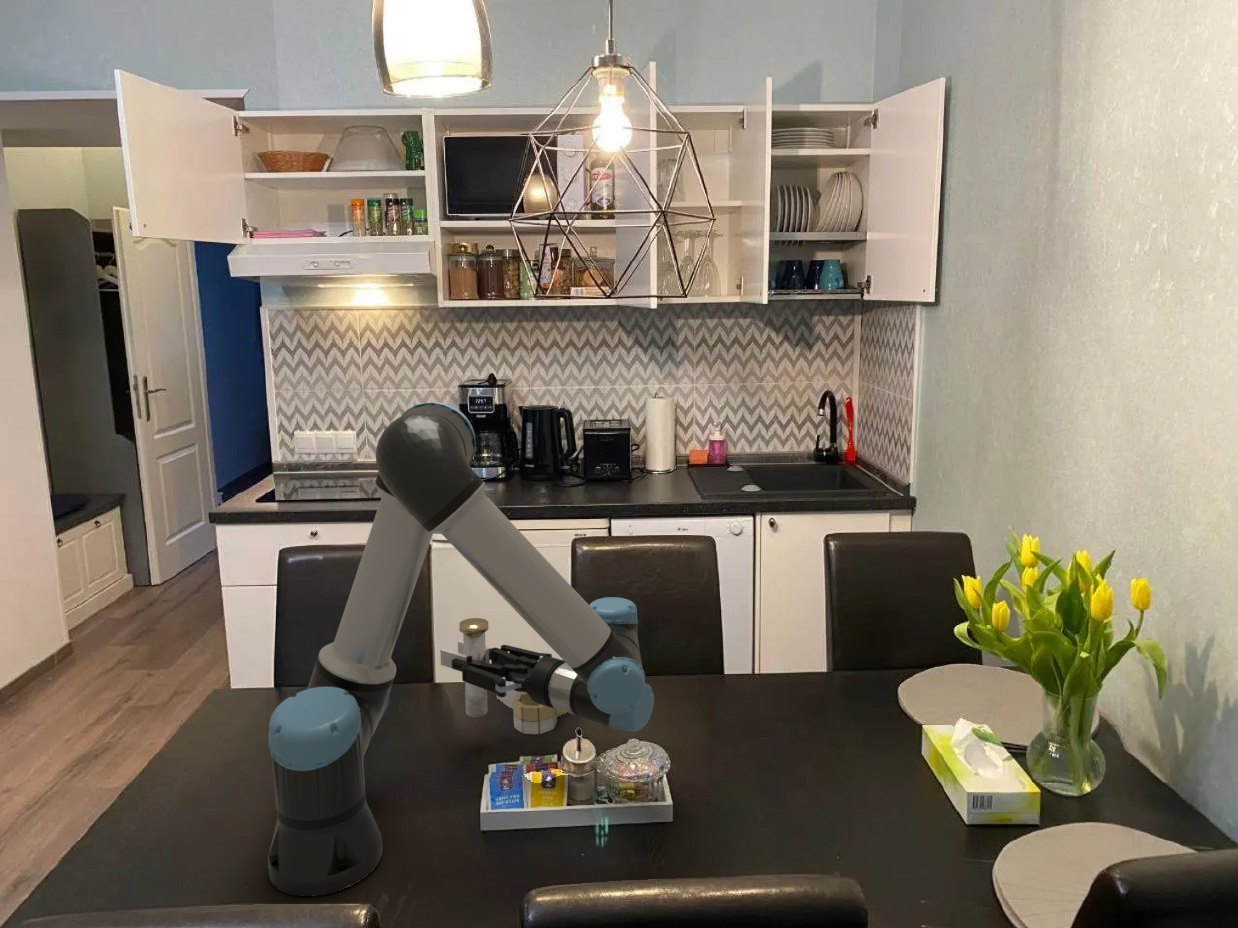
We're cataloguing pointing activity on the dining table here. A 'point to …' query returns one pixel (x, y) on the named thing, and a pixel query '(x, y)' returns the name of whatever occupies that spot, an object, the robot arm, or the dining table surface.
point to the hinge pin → (475, 648)
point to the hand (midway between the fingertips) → (451, 652)
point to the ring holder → (530, 713)
